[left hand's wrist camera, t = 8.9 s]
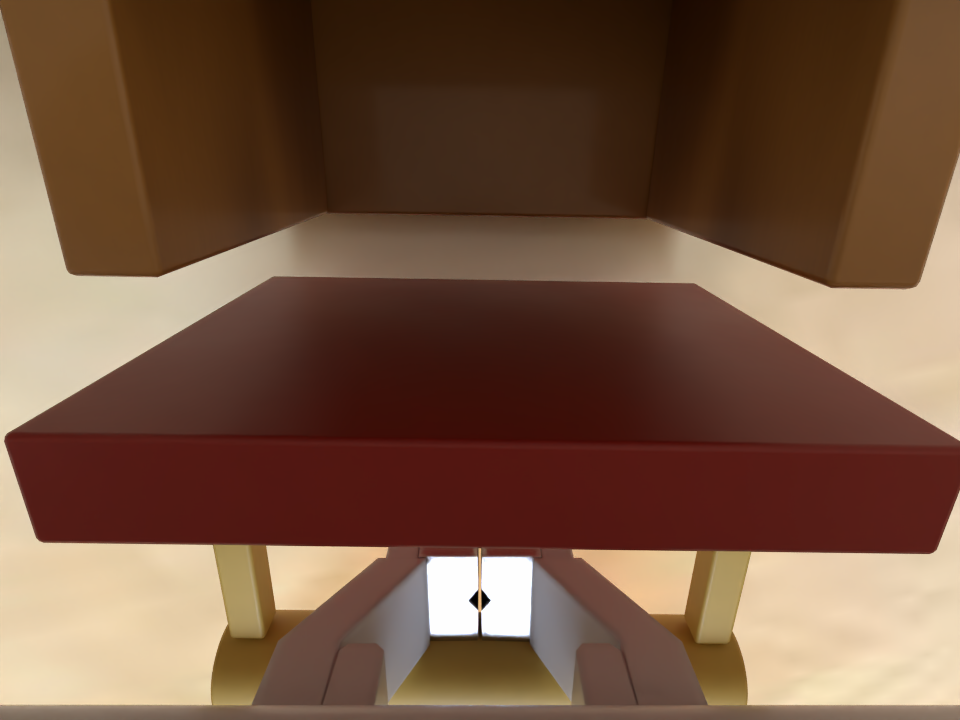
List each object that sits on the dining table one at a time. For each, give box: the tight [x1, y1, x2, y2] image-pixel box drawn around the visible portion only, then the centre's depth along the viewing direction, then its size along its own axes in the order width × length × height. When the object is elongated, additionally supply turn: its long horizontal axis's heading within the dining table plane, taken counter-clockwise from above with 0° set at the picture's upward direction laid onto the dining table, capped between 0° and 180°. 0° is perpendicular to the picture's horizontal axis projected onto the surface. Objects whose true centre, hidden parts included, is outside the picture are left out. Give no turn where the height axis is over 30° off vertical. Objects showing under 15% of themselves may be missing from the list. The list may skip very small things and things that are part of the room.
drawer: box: [0, 0, 960, 705], centre depth 7 cm, size 19×9×7 cm, turn 179°
